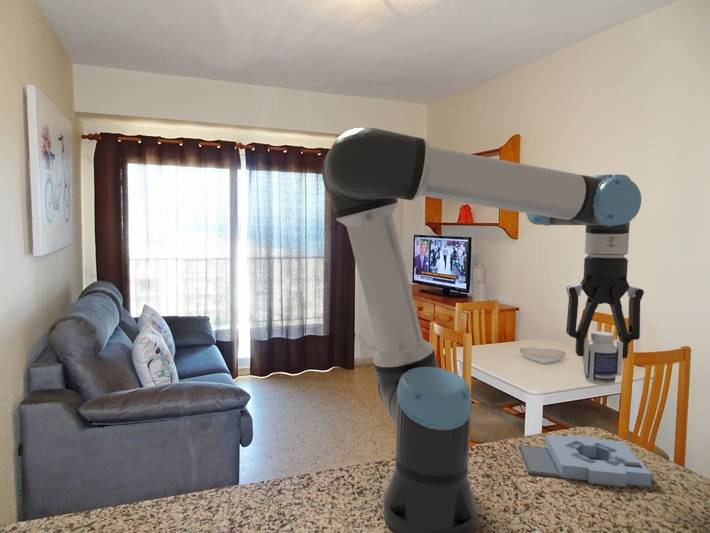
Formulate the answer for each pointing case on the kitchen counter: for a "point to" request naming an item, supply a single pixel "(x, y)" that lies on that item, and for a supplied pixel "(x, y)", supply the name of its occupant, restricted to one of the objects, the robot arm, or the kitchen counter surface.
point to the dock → (597, 461)
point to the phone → (538, 461)
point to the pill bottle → (601, 359)
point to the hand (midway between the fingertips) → (600, 372)
